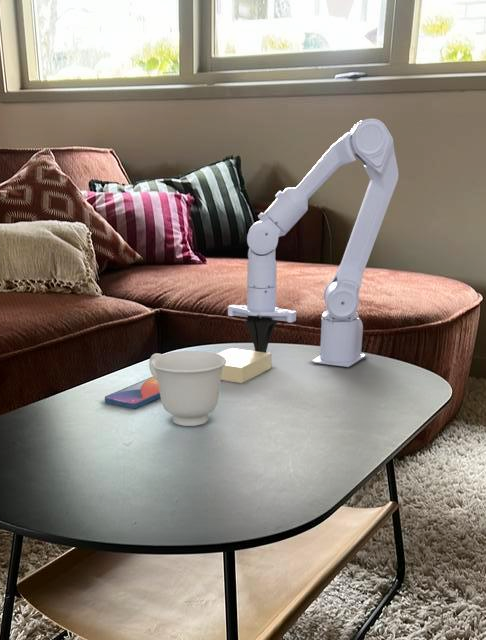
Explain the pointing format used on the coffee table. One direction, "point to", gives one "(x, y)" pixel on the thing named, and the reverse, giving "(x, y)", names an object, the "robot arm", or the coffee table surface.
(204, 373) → the teacup
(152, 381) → the smartphone
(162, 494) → the coffee table surface
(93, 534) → the coffee table surface
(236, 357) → the book
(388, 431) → the coffee table surface
